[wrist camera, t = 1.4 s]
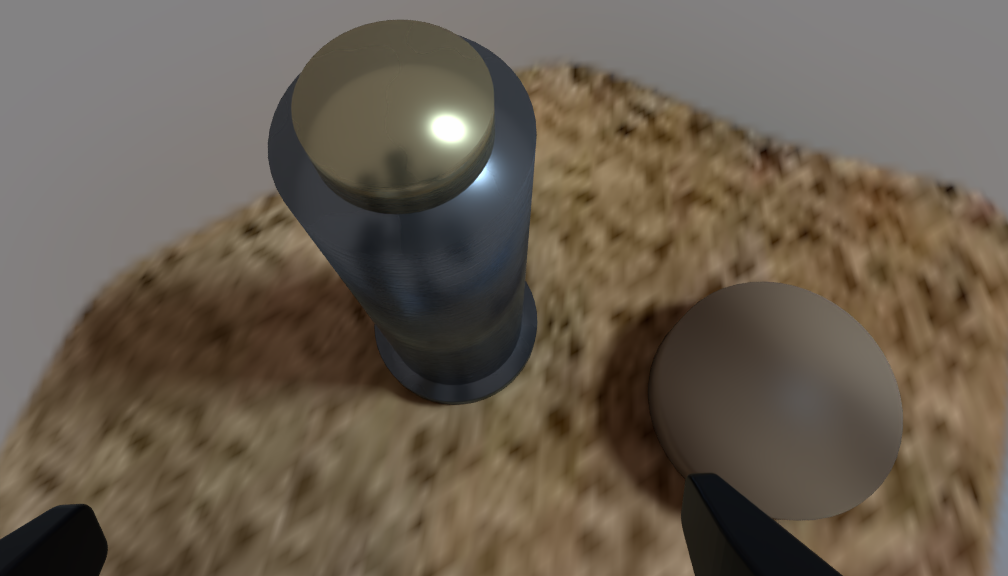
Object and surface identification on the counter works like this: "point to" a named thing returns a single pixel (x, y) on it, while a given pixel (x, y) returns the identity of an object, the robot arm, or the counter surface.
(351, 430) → the counter surface
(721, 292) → the stand
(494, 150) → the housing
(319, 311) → the counter surface
